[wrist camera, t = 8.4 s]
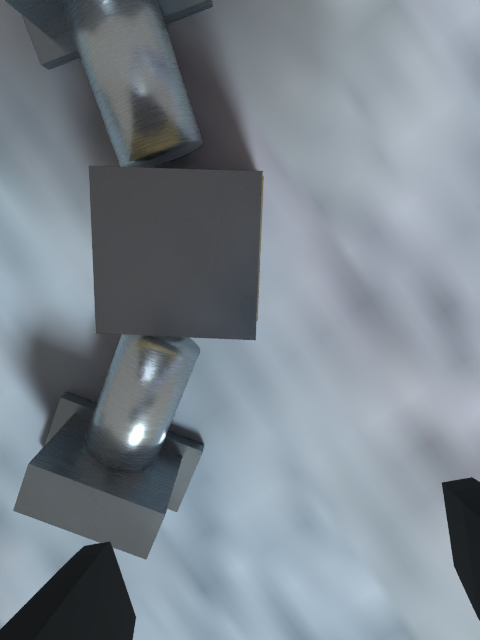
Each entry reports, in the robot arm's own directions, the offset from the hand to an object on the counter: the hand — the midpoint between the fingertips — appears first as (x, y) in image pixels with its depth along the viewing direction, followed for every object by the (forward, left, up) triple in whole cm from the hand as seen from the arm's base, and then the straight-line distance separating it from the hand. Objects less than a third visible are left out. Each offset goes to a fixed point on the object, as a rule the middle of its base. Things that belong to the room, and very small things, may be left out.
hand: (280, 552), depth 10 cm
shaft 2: (+5, +1, -10) cm, 11 cm away
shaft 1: (+5, -12, -10) cm, 17 cm away
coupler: (+3, -6, -10) cm, 12 cm away
